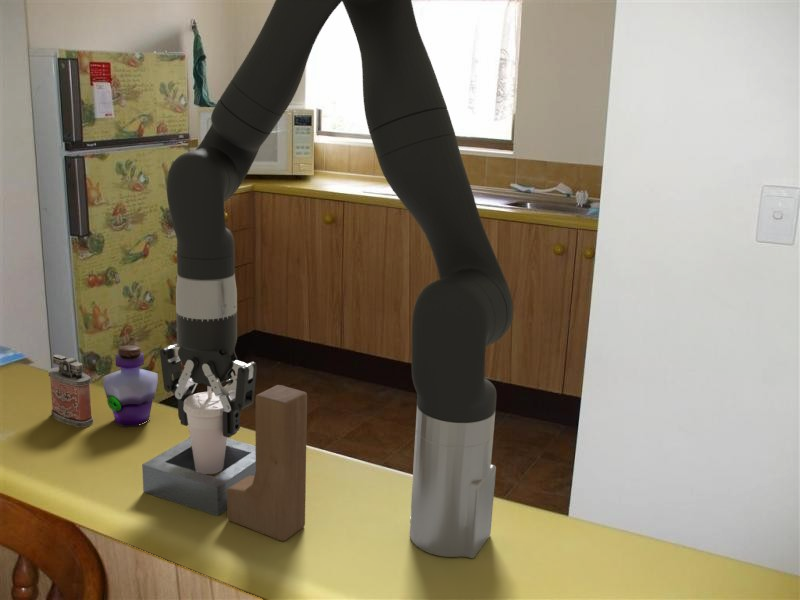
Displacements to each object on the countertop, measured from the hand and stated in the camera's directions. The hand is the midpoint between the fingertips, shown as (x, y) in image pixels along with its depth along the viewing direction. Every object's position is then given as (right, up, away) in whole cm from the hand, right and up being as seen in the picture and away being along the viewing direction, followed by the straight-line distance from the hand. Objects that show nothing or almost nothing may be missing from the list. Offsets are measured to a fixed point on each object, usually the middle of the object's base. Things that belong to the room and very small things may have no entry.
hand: (208, 428), depth 112 cm
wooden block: (+9, -11, -7) cm, 16 cm away
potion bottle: (-17, -2, +21) cm, 27 cm away
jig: (0, -8, +2) cm, 8 cm away
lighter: (-26, -2, +20) cm, 33 cm away
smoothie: (0, -6, +2) cm, 6 cm away
